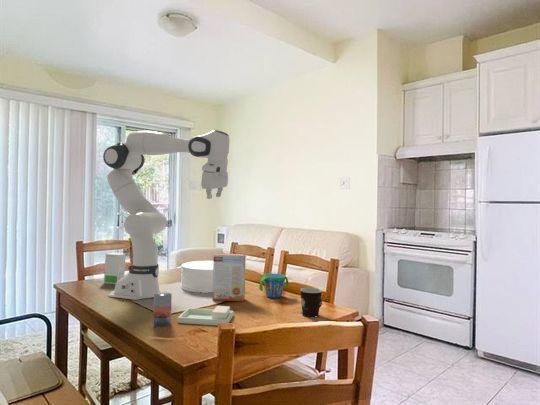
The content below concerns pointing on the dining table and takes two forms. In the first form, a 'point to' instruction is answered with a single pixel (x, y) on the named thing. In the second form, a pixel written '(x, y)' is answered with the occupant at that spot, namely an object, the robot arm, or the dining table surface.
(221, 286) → the cracker box
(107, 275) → the skincare box
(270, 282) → the snack cup
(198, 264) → the plate stack
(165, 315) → the tin
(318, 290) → the coffee mug
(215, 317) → the white rectangular block
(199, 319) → the pale green tray
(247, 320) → the dining table surface
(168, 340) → the dining table surface
